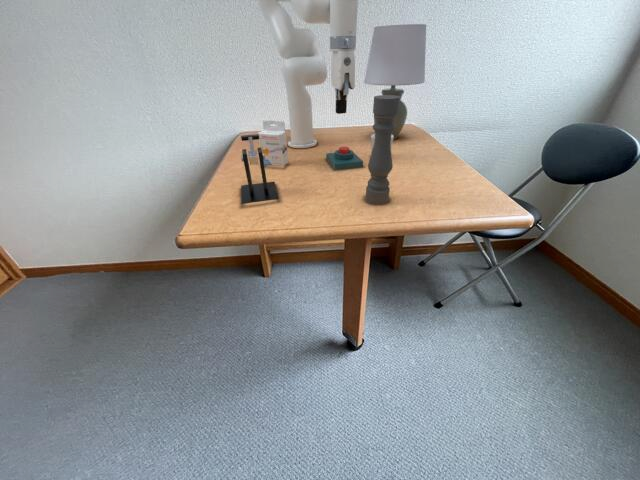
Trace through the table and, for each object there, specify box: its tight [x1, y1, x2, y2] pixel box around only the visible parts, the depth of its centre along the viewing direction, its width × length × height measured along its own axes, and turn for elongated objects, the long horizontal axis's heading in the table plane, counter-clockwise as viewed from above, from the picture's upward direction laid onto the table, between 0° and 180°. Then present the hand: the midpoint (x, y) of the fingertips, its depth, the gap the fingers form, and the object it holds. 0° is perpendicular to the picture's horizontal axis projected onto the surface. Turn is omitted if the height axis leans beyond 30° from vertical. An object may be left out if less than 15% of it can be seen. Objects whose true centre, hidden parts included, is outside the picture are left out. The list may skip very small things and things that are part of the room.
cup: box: [370, 133, 394, 154], centre depth 99 cm, size 11×8×8 cm
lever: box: [240, 133, 259, 166], centre depth 76 cm, size 12×5×2 cm, turn 13°
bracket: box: [240, 147, 280, 205], centre depth 76 cm, size 12×10×13 cm
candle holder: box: [365, 94, 400, 206], centre depth 68 cm, size 6×6×25 cm
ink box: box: [257, 120, 289, 167], centre depth 95 cm, size 8×5×15 cm, turn 72°
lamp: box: [363, 23, 427, 140], centre depth 113 cm, size 24×24×40 cm
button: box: [338, 146, 350, 154], centre depth 96 cm, size 4×4×2 cm
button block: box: [325, 149, 364, 171], centre depth 98 cm, size 12×10×4 cm
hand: (340, 112), depth 90 cm, fingers closed
